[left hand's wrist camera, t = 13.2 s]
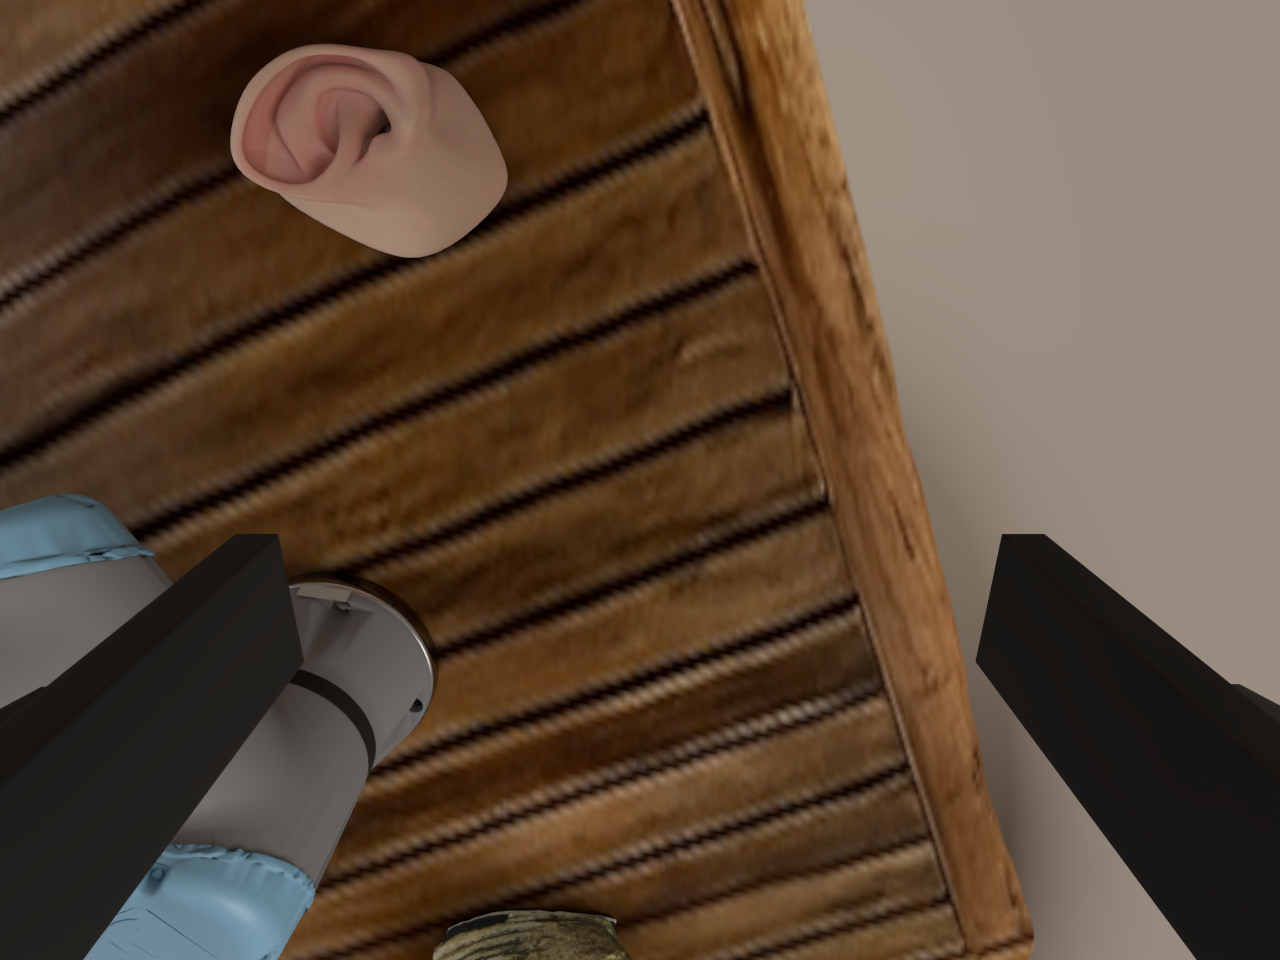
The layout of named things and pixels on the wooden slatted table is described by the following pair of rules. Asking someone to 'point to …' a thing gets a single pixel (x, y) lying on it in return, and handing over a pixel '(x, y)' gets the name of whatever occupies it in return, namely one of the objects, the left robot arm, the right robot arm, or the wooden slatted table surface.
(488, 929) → the fossil
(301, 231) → the wooden slatted table surface
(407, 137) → the anatomical model
